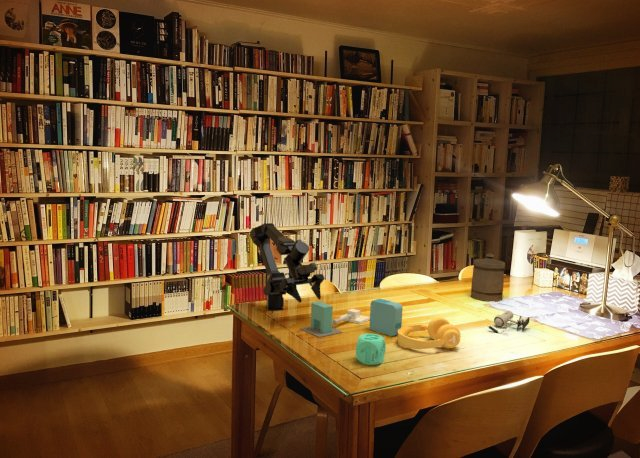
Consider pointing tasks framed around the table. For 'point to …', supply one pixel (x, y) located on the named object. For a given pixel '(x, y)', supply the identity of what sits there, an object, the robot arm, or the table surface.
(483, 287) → the wooden container
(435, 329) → the headset
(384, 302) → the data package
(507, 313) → the clip-on lamp
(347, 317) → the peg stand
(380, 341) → the decorative dice
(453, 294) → the table surface
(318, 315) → the teal arch block
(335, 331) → the grey mat
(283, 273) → the robot arm
